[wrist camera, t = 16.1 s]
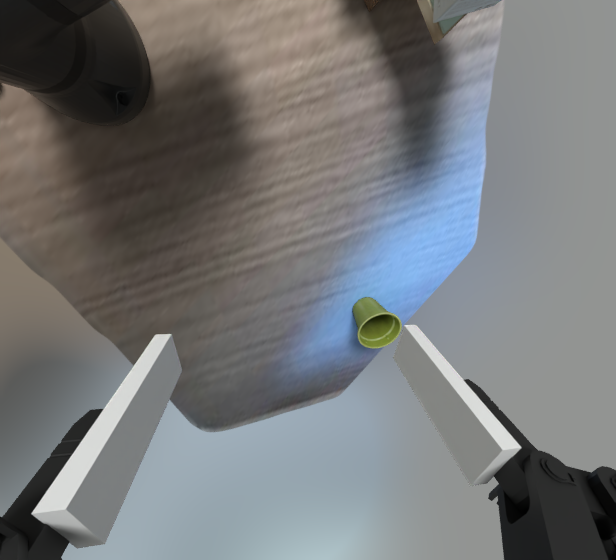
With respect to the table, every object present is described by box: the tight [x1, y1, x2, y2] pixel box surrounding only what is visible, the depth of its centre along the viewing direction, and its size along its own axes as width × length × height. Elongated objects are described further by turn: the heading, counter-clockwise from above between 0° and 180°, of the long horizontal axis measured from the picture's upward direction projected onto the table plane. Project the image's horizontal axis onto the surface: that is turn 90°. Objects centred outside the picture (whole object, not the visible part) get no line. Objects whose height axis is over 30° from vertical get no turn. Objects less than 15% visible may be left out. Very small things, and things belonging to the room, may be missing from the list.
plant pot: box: [353, 297, 402, 348], centre depth 49 cm, size 9×9×9 cm
